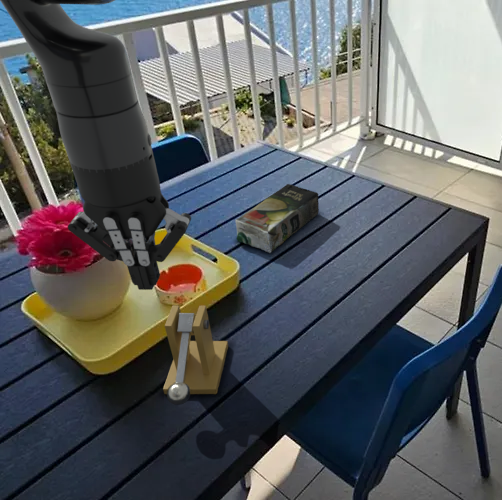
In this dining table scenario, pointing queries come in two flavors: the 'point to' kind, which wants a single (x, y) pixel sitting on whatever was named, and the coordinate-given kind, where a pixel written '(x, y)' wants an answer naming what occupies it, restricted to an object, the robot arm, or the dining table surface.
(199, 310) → the bracket
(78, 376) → the dining table surface
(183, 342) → the tap lever
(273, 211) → the juice carton
